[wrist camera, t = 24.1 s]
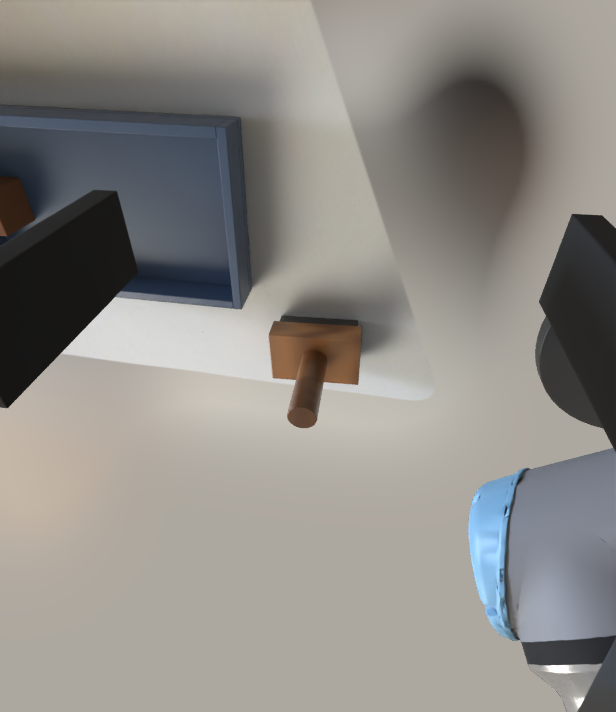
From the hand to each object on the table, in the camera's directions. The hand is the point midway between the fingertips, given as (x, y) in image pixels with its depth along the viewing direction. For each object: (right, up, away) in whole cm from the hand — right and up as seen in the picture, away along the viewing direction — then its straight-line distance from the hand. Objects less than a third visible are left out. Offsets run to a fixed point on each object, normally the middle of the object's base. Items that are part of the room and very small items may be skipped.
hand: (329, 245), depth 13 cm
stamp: (+1, -1, +34) cm, 34 cm away
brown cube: (-29, +12, +28) cm, 42 cm away
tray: (-19, +11, +28) cm, 35 cm away
